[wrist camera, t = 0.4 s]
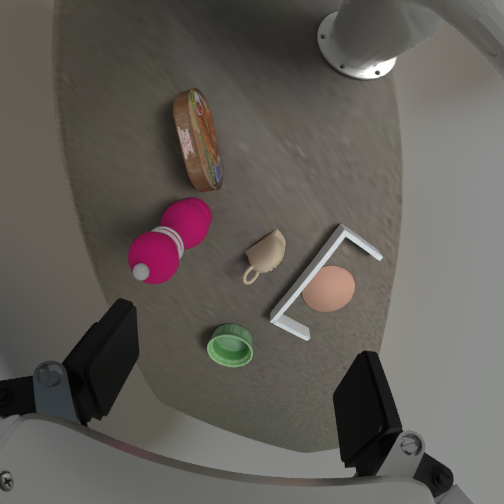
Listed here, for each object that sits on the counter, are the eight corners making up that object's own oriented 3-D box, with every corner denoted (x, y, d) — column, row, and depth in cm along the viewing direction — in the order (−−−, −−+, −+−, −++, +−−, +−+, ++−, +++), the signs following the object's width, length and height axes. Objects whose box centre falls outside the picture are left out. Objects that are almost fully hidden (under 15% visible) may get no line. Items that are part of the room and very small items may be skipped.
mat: (323, 255, 45) (324, 256, 44) (364, 282, 46) (365, 283, 46) (291, 295, 48) (291, 296, 48) (331, 318, 50) (332, 319, 50)
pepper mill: (218, 234, 45) (178, 305, 27) (177, 238, 46) (121, 305, 28) (210, 191, 42) (159, 239, 24) (168, 197, 43) (100, 246, 25)
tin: (227, 183, 41) (215, 195, 34) (208, 187, 42) (191, 200, 34) (206, 91, 35) (188, 82, 28) (186, 96, 36) (165, 90, 28)
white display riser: (340, 222, 42) (344, 229, 39) (377, 249, 43) (382, 257, 40) (270, 312, 50) (269, 322, 48) (306, 330, 52) (307, 340, 49)
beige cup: (292, 247, 45) (293, 261, 40) (251, 272, 47) (248, 289, 43) (278, 228, 44) (278, 240, 39) (237, 255, 46) (232, 270, 41)
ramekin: (212, 349, 56) (208, 364, 52) (210, 318, 53) (205, 332, 49) (253, 354, 56) (251, 369, 52) (256, 323, 52) (253, 338, 48)
